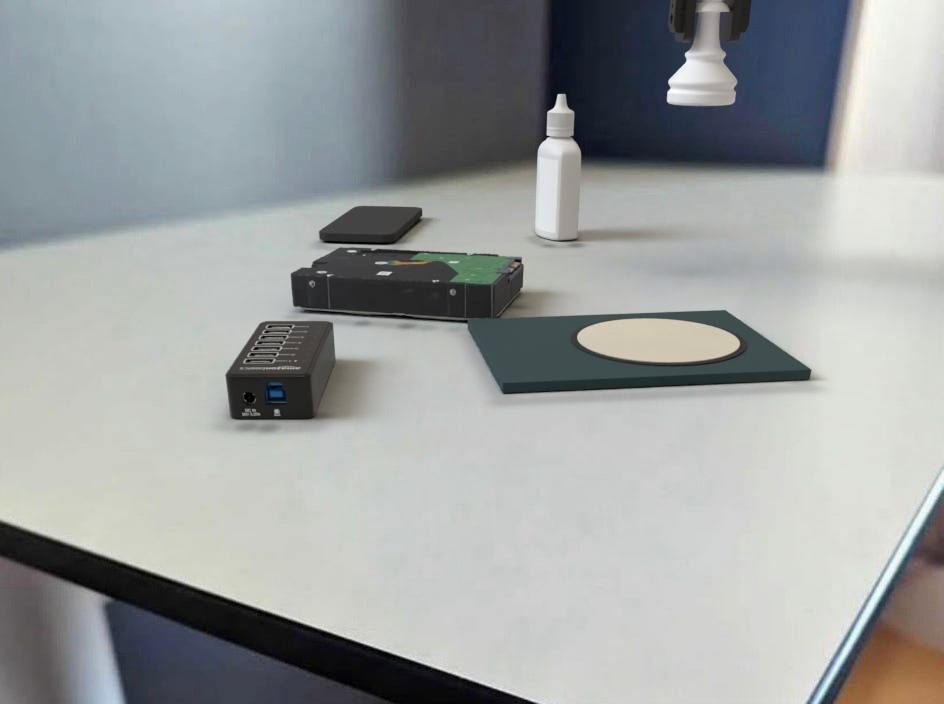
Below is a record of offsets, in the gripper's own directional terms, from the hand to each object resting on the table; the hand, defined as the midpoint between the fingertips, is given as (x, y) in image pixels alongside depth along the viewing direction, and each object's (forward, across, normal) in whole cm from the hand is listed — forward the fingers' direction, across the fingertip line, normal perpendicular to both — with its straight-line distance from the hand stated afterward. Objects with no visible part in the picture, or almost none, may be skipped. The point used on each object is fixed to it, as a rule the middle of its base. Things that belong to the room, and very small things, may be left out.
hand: (707, 40), depth 75 cm
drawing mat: (+16, -10, -21) cm, 29 cm away
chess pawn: (+4, 0, 0) cm, 4 cm away
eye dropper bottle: (+17, -7, +18) cm, 25 cm away
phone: (+16, -24, +23) cm, 37 cm away
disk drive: (+17, -23, -6) cm, 29 cm away
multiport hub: (+17, -31, -26) cm, 44 cm away
